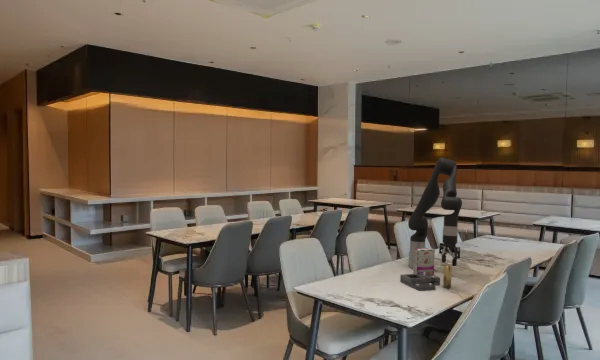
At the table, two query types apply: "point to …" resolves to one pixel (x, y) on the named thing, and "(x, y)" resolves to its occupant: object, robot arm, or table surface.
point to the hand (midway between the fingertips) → (448, 264)
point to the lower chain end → (419, 285)
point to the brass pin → (447, 276)
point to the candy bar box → (424, 261)
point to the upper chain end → (421, 278)
